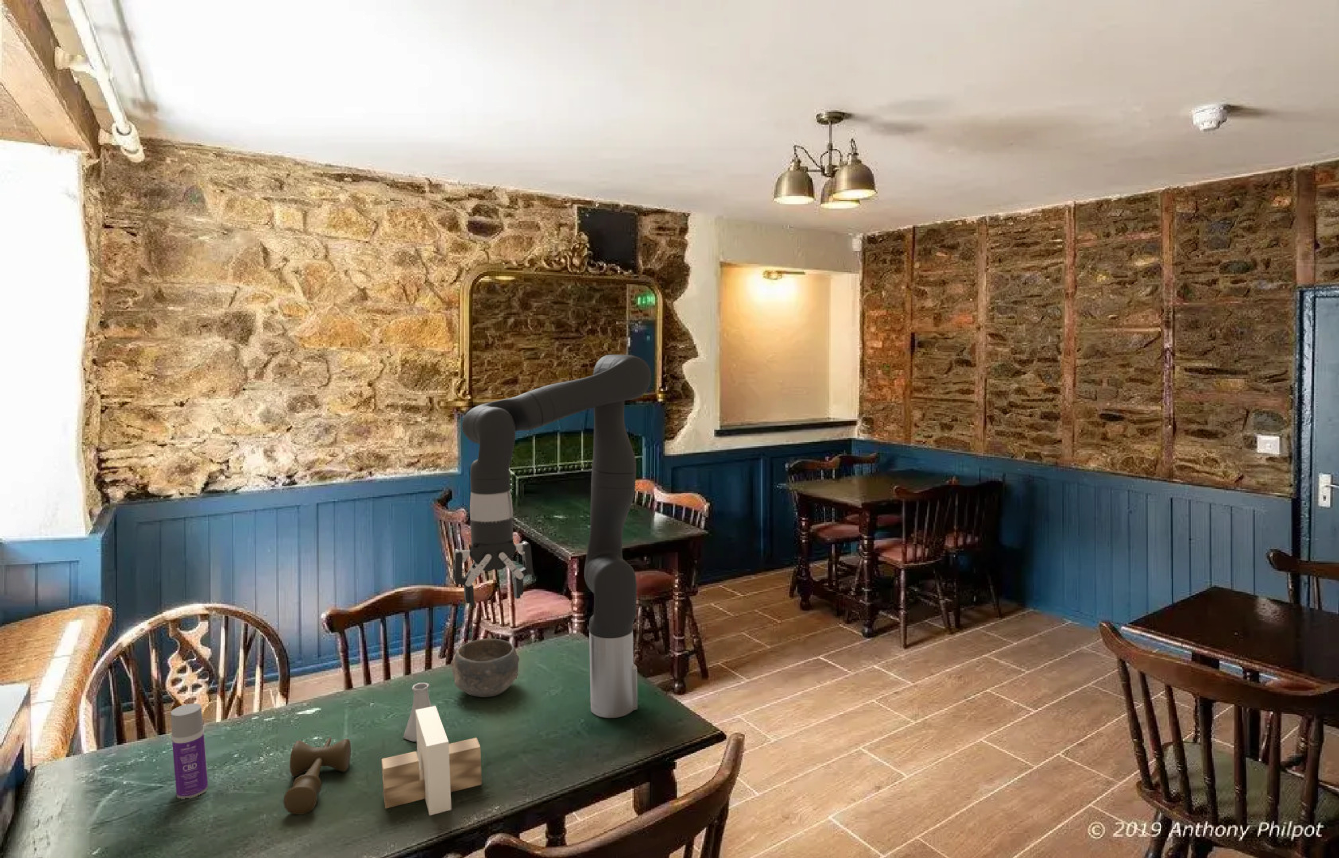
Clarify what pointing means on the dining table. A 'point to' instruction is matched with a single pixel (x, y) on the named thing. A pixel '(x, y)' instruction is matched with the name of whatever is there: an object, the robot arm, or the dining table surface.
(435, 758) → the white rectangular block
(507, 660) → the bowl
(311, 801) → the kendama
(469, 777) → the oak base
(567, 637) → the dining table surface
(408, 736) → the flask
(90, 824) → the dining table surface
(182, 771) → the container
